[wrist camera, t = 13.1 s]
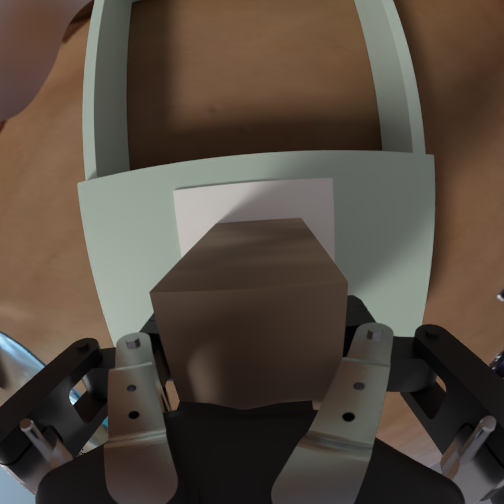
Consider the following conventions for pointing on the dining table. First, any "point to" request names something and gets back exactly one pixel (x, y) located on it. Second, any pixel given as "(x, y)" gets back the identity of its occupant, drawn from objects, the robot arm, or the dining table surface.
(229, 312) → the wood block
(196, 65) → the dining table surface
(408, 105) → the box
